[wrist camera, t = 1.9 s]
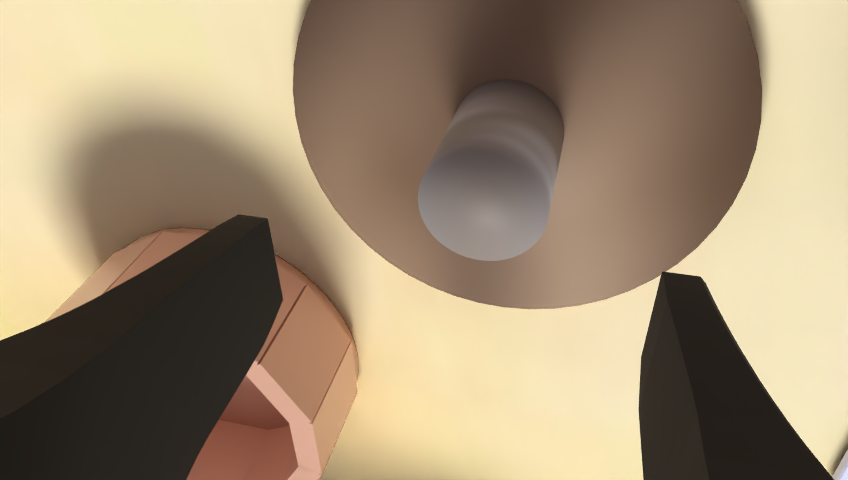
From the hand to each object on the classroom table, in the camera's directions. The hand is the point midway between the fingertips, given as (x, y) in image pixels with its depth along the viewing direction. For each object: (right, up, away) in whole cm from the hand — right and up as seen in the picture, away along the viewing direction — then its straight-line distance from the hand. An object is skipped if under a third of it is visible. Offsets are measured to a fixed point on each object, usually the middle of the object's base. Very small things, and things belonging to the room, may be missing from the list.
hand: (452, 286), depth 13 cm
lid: (+2, +4, +5) cm, 7 cm away
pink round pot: (-8, -3, +13) cm, 16 cm away
